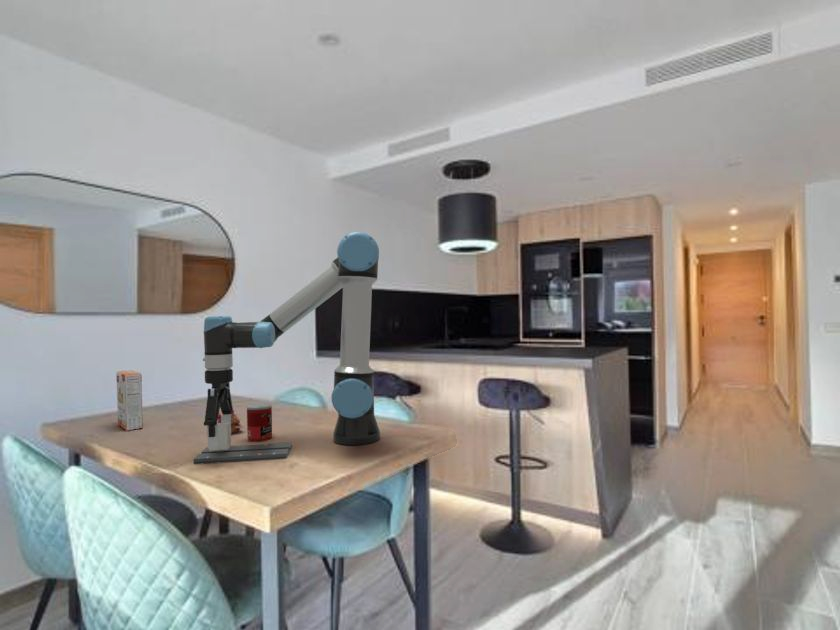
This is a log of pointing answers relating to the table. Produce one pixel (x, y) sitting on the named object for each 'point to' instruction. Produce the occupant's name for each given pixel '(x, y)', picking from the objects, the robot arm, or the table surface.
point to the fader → (223, 437)
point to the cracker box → (129, 400)
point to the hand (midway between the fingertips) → (220, 441)
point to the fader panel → (245, 453)
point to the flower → (232, 422)
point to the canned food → (259, 422)
